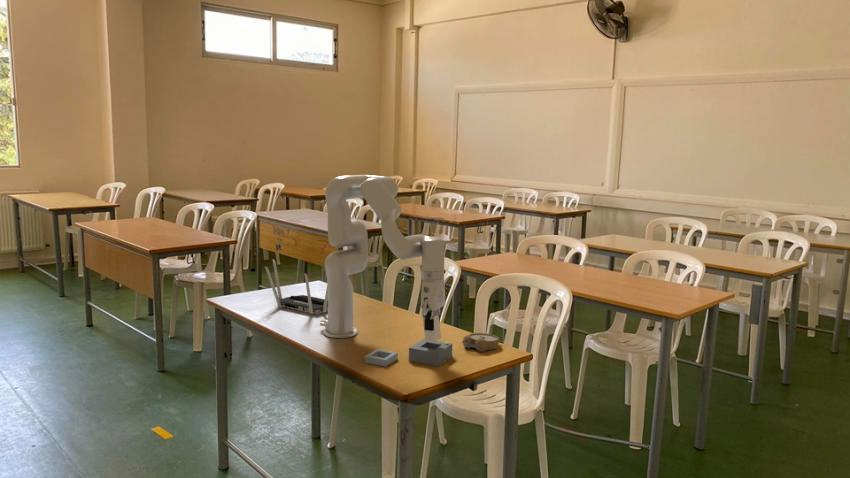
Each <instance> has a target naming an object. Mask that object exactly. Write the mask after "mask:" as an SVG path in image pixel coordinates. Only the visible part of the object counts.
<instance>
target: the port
mask: <svg viewBox="0 0 850 478" xmlns="http://www.w3.org/2000/svg"><path fill="white" fill-rule="evenodd" d="M452 357H453V343H451V342H444V341H439V340H437V341H425V338H422V339H421V340H419V341H417V342H416V343H414V344H412V346H409V348H408V361H409V362H413V363H414V362H415V363H418V364H419V363H420V364H424V365H430V366H435V367H440V366H441V365H443V364H444V363H445V362H447V361H448V360H449V359H451V358H452Z"/></svg>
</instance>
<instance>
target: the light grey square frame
mask: <svg viewBox="0 0 850 478" xmlns="http://www.w3.org/2000/svg"><path fill="white" fill-rule="evenodd" d="M398 354H399V353H398V352H395V351H390V350H384V349H381V348H379V349H378V348H376V349H375V350H372V351H370V352H369V353H368V354H366V355H364V363H365V364H366V363H367V364H370V365H375V366H376V365H377V366H380V367H385V368H386V367H387V366H390V365H391V364H392V363H394V362H395V361H397V360H398V359H399V358H398Z"/></svg>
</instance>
